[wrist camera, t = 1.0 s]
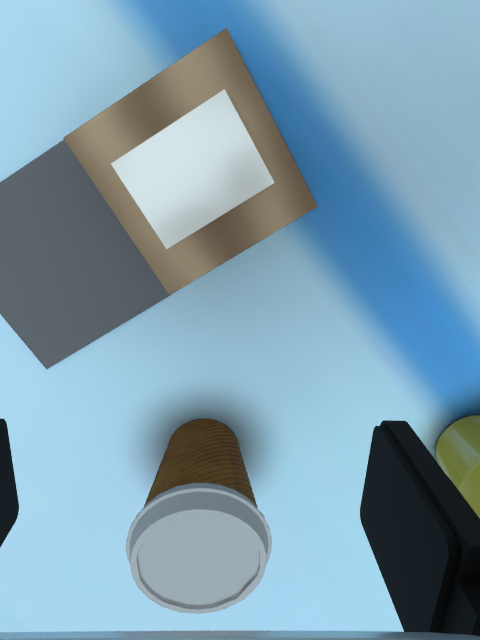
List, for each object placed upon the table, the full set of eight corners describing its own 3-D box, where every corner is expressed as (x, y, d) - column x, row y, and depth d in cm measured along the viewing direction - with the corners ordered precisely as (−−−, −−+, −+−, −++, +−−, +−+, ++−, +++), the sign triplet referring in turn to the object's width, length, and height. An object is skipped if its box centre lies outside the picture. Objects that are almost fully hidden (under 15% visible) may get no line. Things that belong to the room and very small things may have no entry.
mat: (67, 138, 30) (65, 138, 29) (171, 293, 34) (171, 294, 33) (-68, 229, 31) (-70, 229, 31) (48, 367, 35) (46, 369, 35)
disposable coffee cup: (180, 507, 40) (166, 637, 29) (130, 428, 37) (93, 539, 26) (273, 468, 39) (296, 587, 28) (229, 385, 37) (236, 479, 25)
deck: (225, 42, 28) (226, 27, 26) (308, 203, 32) (317, 206, 29) (77, 141, 30) (63, 138, 27) (173, 285, 33) (169, 295, 31)
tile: (223, 95, 27) (224, 89, 25) (270, 182, 29) (274, 182, 27) (117, 164, 28) (110, 163, 26) (169, 244, 29) (166, 249, 28)
